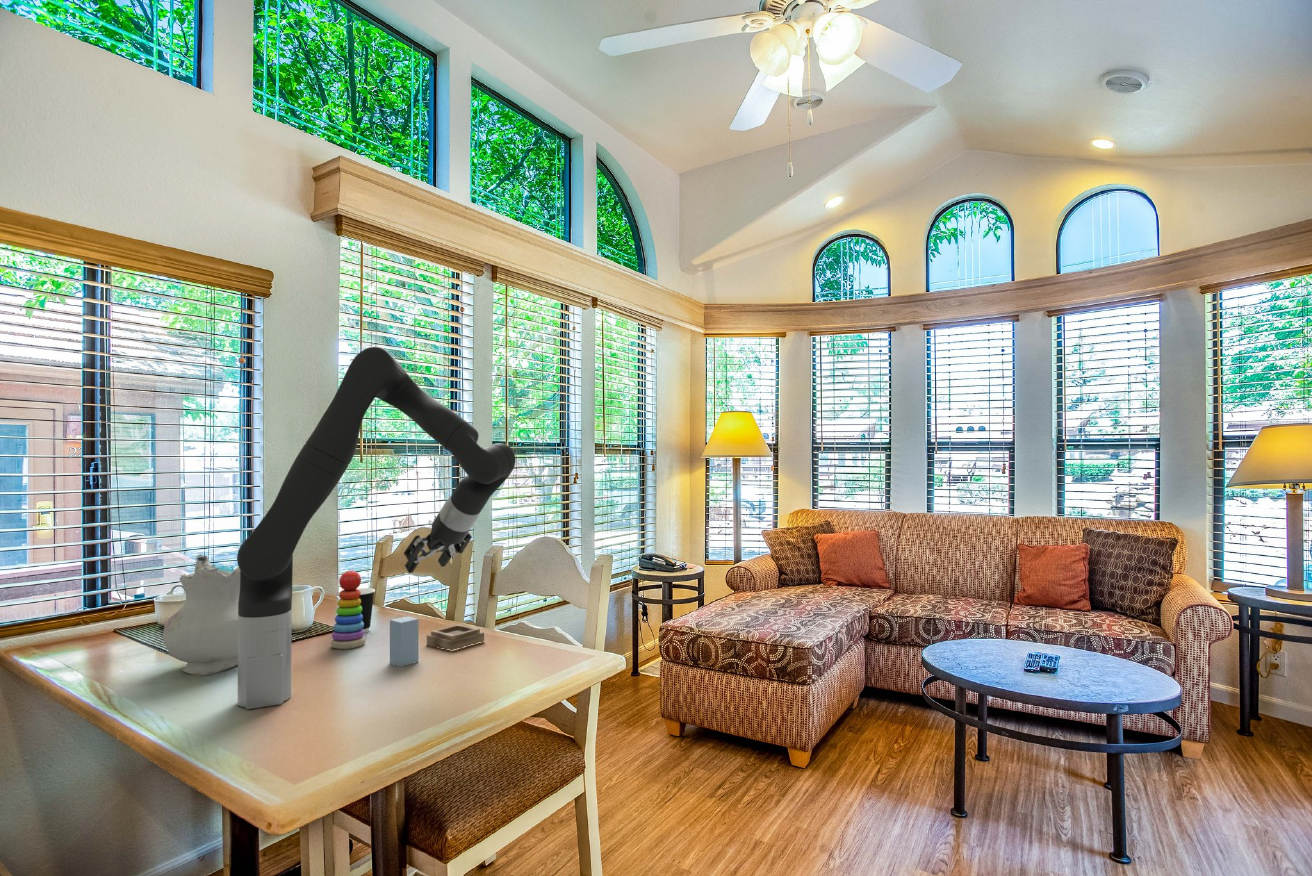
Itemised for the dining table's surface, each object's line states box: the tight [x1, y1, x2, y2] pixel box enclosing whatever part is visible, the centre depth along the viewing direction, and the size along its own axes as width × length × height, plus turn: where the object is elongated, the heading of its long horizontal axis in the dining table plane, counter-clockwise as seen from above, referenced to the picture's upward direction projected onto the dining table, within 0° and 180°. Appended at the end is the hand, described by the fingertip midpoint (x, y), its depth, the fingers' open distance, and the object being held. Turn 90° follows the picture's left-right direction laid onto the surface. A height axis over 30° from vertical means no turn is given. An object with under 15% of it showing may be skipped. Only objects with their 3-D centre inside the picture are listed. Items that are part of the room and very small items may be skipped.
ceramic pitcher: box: [162, 554, 240, 676], centre depth 159 cm, size 22×20×25 cm
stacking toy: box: [330, 570, 366, 650], centre depth 175 cm, size 8×8×19 cm
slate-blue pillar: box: [389, 615, 420, 668], centre depth 160 cm, size 4×4×10 cm
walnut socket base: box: [426, 623, 485, 650], centre depth 176 cm, size 10×10×4 cm
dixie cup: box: [357, 587, 376, 634], centre depth 189 cm, size 8×8×11 cm
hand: (425, 566), depth 155 cm, fingers open, 8 cm apart
